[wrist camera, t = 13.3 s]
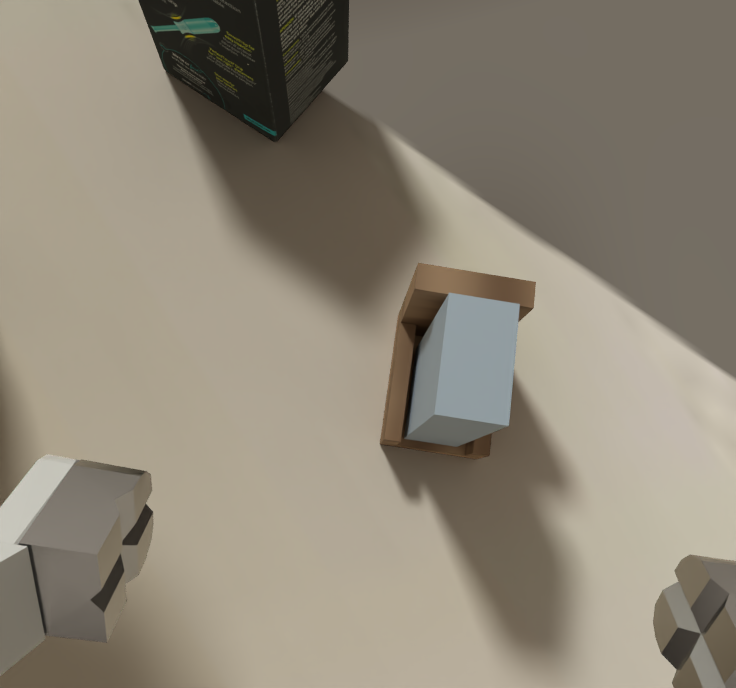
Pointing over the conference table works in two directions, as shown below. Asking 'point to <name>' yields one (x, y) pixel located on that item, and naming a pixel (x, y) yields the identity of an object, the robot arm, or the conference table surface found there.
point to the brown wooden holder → (412, 326)
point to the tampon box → (252, 53)
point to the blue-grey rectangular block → (463, 372)
